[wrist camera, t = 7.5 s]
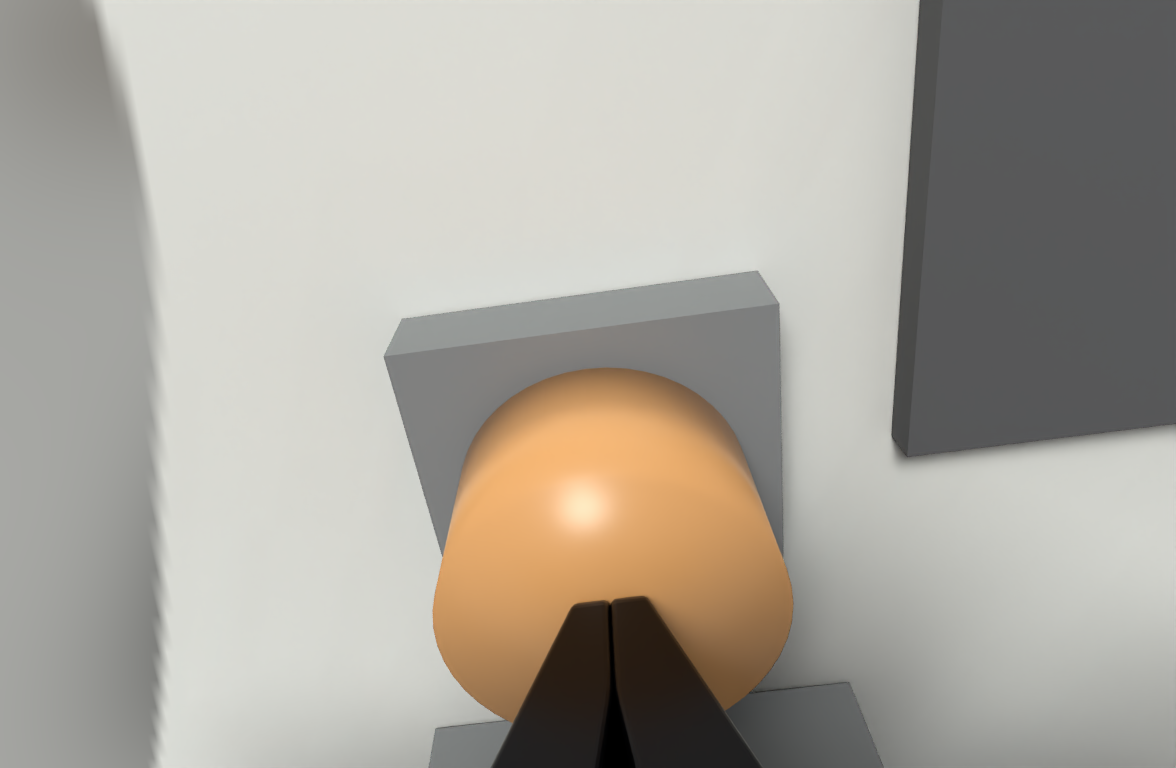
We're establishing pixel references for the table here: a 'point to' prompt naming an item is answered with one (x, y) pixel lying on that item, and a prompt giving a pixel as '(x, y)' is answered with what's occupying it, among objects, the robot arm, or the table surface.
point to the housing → (640, 342)
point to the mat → (1039, 224)
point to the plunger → (607, 534)
